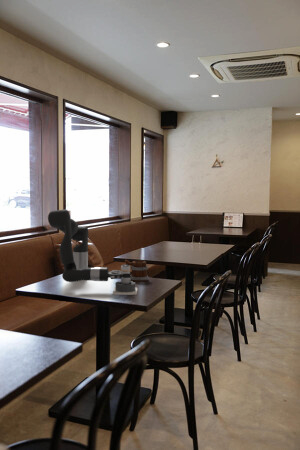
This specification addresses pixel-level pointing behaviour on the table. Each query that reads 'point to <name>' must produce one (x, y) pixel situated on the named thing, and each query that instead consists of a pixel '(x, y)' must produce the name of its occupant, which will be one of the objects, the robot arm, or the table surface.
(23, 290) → the table surface
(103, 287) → the table surface
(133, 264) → the mug
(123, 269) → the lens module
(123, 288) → the grey ring on base
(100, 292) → the table surface
